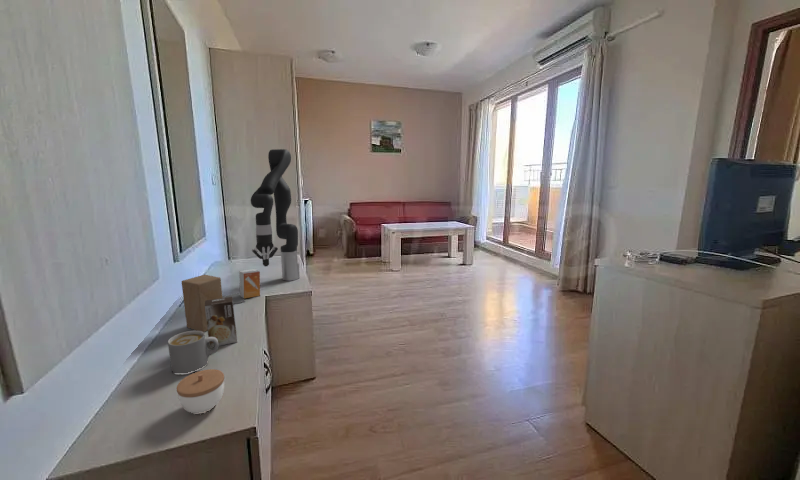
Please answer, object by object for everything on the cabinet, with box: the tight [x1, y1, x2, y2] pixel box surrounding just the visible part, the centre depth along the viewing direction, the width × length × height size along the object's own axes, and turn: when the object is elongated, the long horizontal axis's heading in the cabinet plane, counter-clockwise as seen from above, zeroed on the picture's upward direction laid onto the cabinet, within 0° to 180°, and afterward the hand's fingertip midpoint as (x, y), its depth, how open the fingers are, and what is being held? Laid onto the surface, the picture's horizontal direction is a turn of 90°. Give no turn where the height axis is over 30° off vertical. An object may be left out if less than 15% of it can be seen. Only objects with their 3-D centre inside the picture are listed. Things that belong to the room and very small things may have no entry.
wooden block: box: [181, 274, 223, 333], centre depth 133 cm, size 10×10×20 cm
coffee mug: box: [167, 330, 220, 373], centre depth 106 cm, size 13×10×10 cm
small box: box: [238, 268, 261, 300], centre depth 167 cm, size 8×6×13 cm
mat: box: [222, 292, 246, 305], centre depth 161 cm, size 18×14×1 cm
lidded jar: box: [176, 368, 225, 414], centre depth 87 cm, size 11×11×9 cm
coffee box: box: [205, 297, 238, 348], centre depth 121 cm, size 9×6×16 cm
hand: (265, 266), depth 171 cm, fingers closed
